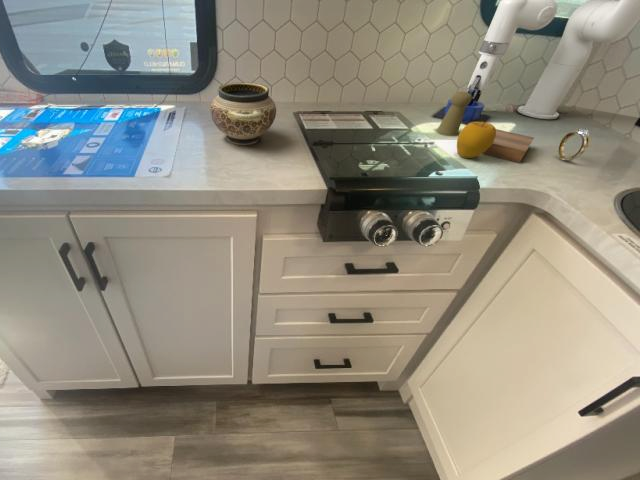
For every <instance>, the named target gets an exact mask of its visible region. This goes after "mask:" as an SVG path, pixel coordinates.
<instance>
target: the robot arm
mask: <svg viewBox="0 0 640 480" xmlns="http://www.w3.org/2000/svg"><path fill="white" fill-rule="evenodd" d="M557 12H558V4H557V2H556V1H555V0H500V1H499V3H498V6H497V8H496V10H495V13H494V15H493V17H492V20H491V22H490V25H489V26H488V30H487V32H486V34H485V36H484V38H483V41H482V44H481V46H480V48H479V50H478V54H480V57H479V60H478V61H477V64H476V66H475V68H474V69H473V73H472V75H471V78H470V80H469V82H468V85H467V93H469V94H471V96H472V99H471V102H470V103H469V104H468V105H467V106H472V104H473V102H474V101H478V102H479V101H480V100H479V99H480V97H481V95H482V93H483V92H484V91H485V90H486V89H488V88H489V86H490V84H491V81H492V79H493V77H494V74H495V72H496V69H497V67H498V65H499V63H500V60H501V57H505V56H506V53H507V51H508V49H509V47H510V44H511V43H512V40H513V39H514V36H515V34H516V31H517V30H518V29H522V30H527V31H539V30H541V29H543V28H545V27H546V26H548V25H549V24H550V23H551V22H552V21H553V20H554V19H555V17H556V15H557ZM639 21H640V0H587V1H585V2H584V3H582V4H580V5H579V6H578V7H577V8H575V10H574V11H573V12H572V14H571V15H570V17H569V18H568V20H567V22H566V24H565V27H564V30H563V33H562V36H561V38H560V41H559V43H558V44H557V47H556V49H555V51H554V52H553V55H552V56H551V58H550V60H549V62H548V63H547V65H546V67H545V68H544V70H543V72H542V74H541V75H540V78H539V80H538V82H537V83H536V85H535V87H534V88H533V90H532V92H531V94H530V96H529V98H528V99H527V101H526V103H525V105H521V106H518V108H517V112H518V113H519V114H521V115H523V116H526V117H530V118H533V119H540V120H556V119H557V118H558V117H559V116H560V113H559V112H558V111H557V110H558V109H559V107H560V105H561V103H562V102H563V100H564V98H565V97H566V95H567V94H568V92H569V90H570V89H571V87H572V86H573V84H574V82H575V81H576V79H577V77H578V76H579V75H580V72H581V71H582V69H583V68H584V66H585V65H586V63H587V61H588V60H589V57H590V55H591V53H592V49H593V46H594V45H593V44H594V42H595V43H600V44H612V43H615V42H618V41H619V40H620V39H622V38H624V37H625V36H626V35H627V34H628V33H629V32H630V31H632V30H633V28H634V27H635V26H636V25H637V23H638V22H639Z"/></svg>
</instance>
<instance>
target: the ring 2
mask: <svg viewBox="0 0 640 480" xmlns="http://www.w3.org/2000/svg"><path fill="white" fill-rule="evenodd" d="M573 136H578V137H580V138H581V140H582V141H581V146H580V148H579V150H578V151H577V152H576V153H575V154H574V155H572V156H570V157H569V156H568V155H565V153H564V148H565V145H566V143H567V142H568V141H569V139H571V138H572V137H573ZM590 143H591V138H590V131H589V129H588V128H585V129H582V128H580V127H579V128H578V130H575V131H573V132H568V133H567V134H566V135H564V136H563V138H562V139H561V141H560V142H559V146H558V155H559V158H560V160H561V161H573V160H576V159H577V158H579V157H581V155H583V154H584V153H585V152H586V150H587V149H588V147H589V145H590Z"/></svg>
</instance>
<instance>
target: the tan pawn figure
mask: <svg viewBox="0 0 640 480" xmlns="http://www.w3.org/2000/svg"><path fill="white" fill-rule="evenodd" d="M467 92H468V91H467ZM467 92H466V91H457V92H455V93H454V94H453V95H452V97H451V98H450V99H451V106H450V108H449V110H448V111H447V113H446V115H445V117H444V119H441V120H442V121H441V122H440V124H439V125H438V127H437V129H436V132H437V133H439V134H441V135H444V136H454V137H455V136H457V135H459V130H460V127H461V125H462V123H461V121H462V118H463V115H464V112H465V108H466V106H467V105H468V104H469V103H470V102H471V99H472V96H471V94H469V93H467Z"/></svg>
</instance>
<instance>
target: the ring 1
mask: <svg viewBox="0 0 640 480" xmlns="http://www.w3.org/2000/svg"><path fill="white" fill-rule="evenodd" d="M451 99H452V98H450V99H449V100H448V101H447V104H446V106H445V107H446V109H445V111H444V114H445V115H446V113H447V111H448V110H449V108H450V106H451ZM485 107H486V105H485V104H484V103H483V102H481V101H479V100H478V101H474V102H473V104H472V106H466V108H465V112H464V115H463V118H462V120H465V121H474V120H478V119H479V117H480V115H481V114H483V111H484V108H485Z"/></svg>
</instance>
